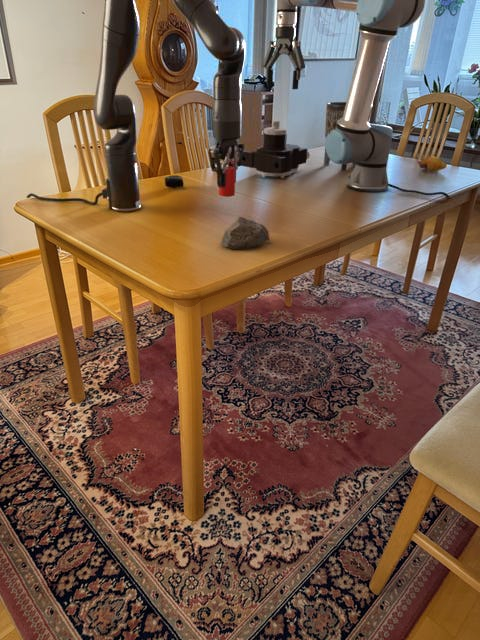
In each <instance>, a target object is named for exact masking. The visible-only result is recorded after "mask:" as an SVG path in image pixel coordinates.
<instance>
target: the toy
mask: <svg viewBox="0 0 480 640" xmlns="http://www.w3.org/2000/svg"><path fill="white" fill-rule="evenodd" d="M417 164H419V165H418V166H419V168H421V169H425V170H429V171H430V172H439V171H442V170H444V169H446V168H447V165H448V164H446V163H445V162H442V159H440V158H439V157H437V156H429V157H424V158H422V159H421V160H420V161H417Z"/></svg>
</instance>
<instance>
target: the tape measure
mask: <svg viewBox="0 0 480 640" xmlns="http://www.w3.org/2000/svg"><path fill="white" fill-rule="evenodd" d="M164 185H165V187H166V188H171V189H176V188H184V180H183V177H182V176H180V175H167V176H165V177H164Z"/></svg>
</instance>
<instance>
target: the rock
mask: <svg viewBox="0 0 480 640" xmlns="http://www.w3.org/2000/svg"><path fill="white" fill-rule="evenodd" d="M269 241H270V233H269V230H268V229H267V228H266V226H265V225H263V224H261V223H259V222H256V221H255V220H252V219H247V218H245V217H241V216H238V217H237V218H236V219H235V221H234V222H233V223H232V224H231V225H229V226H228V227H227V228H226V229H225V231H224V233H223V236H222V239H221V244H222V247H224V248H229V249H231V250H245V249H254V248H257V247H259V246H260V245H264V244H266V242H269Z"/></svg>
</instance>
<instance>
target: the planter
mask: <svg viewBox="0 0 480 640" xmlns="http://www.w3.org/2000/svg"><path fill="white" fill-rule="evenodd" d="M346 102H347V101H333V102H327V103H326V109H325V124H324V125H325V126H324V139H326V138H327V135H328V134H329V133H330V132H331V131H332V130H335V129H336V125H337V121H338V120H339V119H340V118H342V117H343V114H344V110H345V106H346ZM373 107H374V106H373V105H372V106H371V110H370V113H369V117H368V121H367V122H368V123H370V121H371V116H372V112H373ZM325 142H326V140H325ZM323 157H324V158H323V165H325V166H328V165H330V163H331V160H330V158H329V157H328V154H327V152H326V147H325V146H324V156H323ZM351 164H352V166H353V167H355V165H356V162H354V163H351ZM347 165H348V164H341V166H340V170H341V172H345V171H347V167H348V166H347Z"/></svg>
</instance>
